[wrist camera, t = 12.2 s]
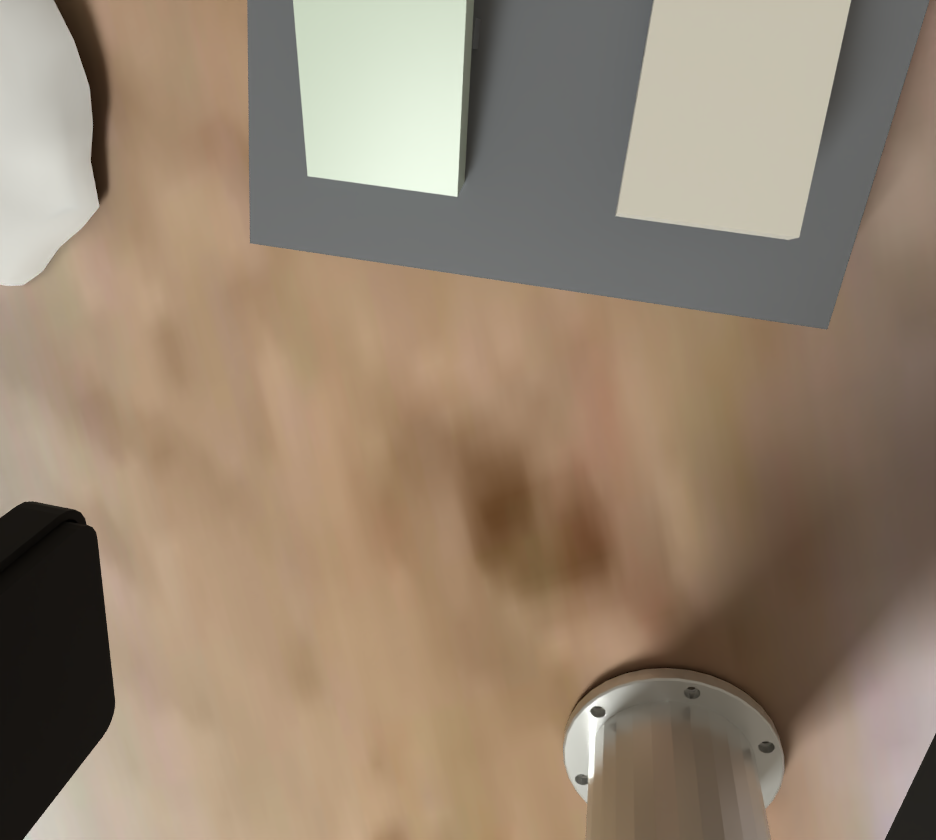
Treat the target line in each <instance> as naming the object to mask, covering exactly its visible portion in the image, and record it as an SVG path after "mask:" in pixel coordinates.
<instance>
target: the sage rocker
mask: <svg viewBox="0 0 936 840" xmlns="http://www.w3.org/2000/svg"><path fill="white" fill-rule="evenodd" d="M293 7H294V19H295V31H296V43H297V55H298V67H299V79H300V91H301V103H302V115H303V127H304V139H305V151H306V163H307V175H308V176H310V177H318V178H325V179H332V180H339V181H346V182H354V183H361V184H368V185H375V186H383V187H390V188H397V189H404V190H412V191H419V192H426V193H433V194H441V195H448V196H455V197H457V196H458V194H459V192H460V190H461V188H462V186H463V184H464V181H465V164H466V145H467V126H468V107H469V88H470V68H471V49H472V30H473V11H474V0H293Z"/></svg>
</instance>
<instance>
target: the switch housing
mask: <svg viewBox="0 0 936 840" xmlns="http://www.w3.org/2000/svg"><path fill="white" fill-rule="evenodd" d="M247 1H248V94H249V188H250V243H253V244H259V245H266V246H273V247H279V248H286V249H293V250H299V251H306V252H313V253H320V254H326V255H333V256H340V257H346V258H353V259H360V260H366V261H373V262H380V263H386V264H393V265H400V266H407V267H413V268H420V269H427V270H433V271H440V272H447V273H453V274H460V275H467V276H473V277H480V278H487V279H494V280H500V281H507V282H514V283H520V284H527V285H534V286H540V287H547V288H554V289H560V290H567V291H574V292H581V293H587V294H594V295H601V296H607V297H614V298H621V299H627V300H634V301H641V302H647V303H654V304H661V305H668V306H674V307H681V308H688V309H694V310H701V311H708V312H714V313H721V314H728V315H734V316H741V317H748V318H755V319H761V320H768V321H775V322H781V323H788V324H795V325H801V326H808V327H815V328H821V329H828V325H829V322H830V319H831V316H832V313H833V309H834V306H835V303H836V300H837V296H838V293H839V290H840V287H841V284H842V280H843V277H844V274H845V271H846V267H847V264H848V261H849V258H850V255H851V251H852V248H853V245H854V242H855V239H856V235H857V232H858V229H859V226H860V222H861V219H862V216H863V213H864V210H865V206H866V203H867V200H868V197H869V193H870V190H871V187H872V184H873V181H874V177H875V174H876V171H877V168H878V165H879V161H880V158H881V155H882V152H883V148H884V145H885V142H886V139H887V136H888V132H889V129H890V126H891V123H892V119H893V116H894V113H895V110H896V107H897V103H898V100H899V97H900V94H901V91H902V87H903V84H904V81H905V78H906V74H907V71H908V68H909V65H910V62H911V58H912V55H913V52H914V49H915V45H916V42H917V39H918V36H919V33H920V29H921V26H922V23H923V20H924V17H925V13H926V10H927V7H928V4H929V0H851V3H850V8H849V12H848V17H847V22H846V26H845V31H844V35H843V40H842V44H841V49H840V54H839V58H838V63H837V67H836V72H835V76H834V81H833V86H832V90H831V95H830V99H829V104H828V108H827V113H826V117H825V122H824V127H823V131H822V136H821V140H820V145H819V149H818V154H817V159H816V163H815V168H814V172H813V177H812V181H811V186H810V191H809V195H808V200H807V204H806V209H805V213H804V218H803V223H802V227H801V232H800V236H799V238H795V239H791V240H785V239H778V238H771V237H763V236H756V235H749V234H742V233H734V232H727V231H720V230H713V229H705V228H698V227H691V226H684V225H676V224H669V223H662V222H655V221H647V220H640V219H633V218H625V217H618V216H615V215H616V210H617V204H618V198H619V192H620V187H621V181H622V175H623V170H624V164H625V158H626V153H627V147H628V141H629V135H630V130H631V124H632V118H633V113H634V107H635V101H636V95H637V90H638V84H639V78H640V73H641V67H642V61H643V56H644V50H645V44H646V38H647V33H648V27H649V21H650V16H651V10H652V4H653V0H474V11H473V30H472V49H471V68H470V88H469V107H468V126H467V145H466V164H465V181H464V184H463V186H462V188H461V190H460V192H459V194H458V196H457V197H455V196H448V195H441V194H433V193H426V192H419V191H412V190H404V189H397V188H390V187H383V186H375V185H368V184H361V183H354V182H346V181H339V180H332V179H325V178H318V177H310V176H308V175H307V163H306V151H305V139H304V127H303V115H302V103H301V91H300V79H299V67H298V55H297V43H296V31H295V19H294V7H293V0H247Z"/></svg>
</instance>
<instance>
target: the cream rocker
mask: <svg viewBox="0 0 936 840" xmlns="http://www.w3.org/2000/svg"><path fill="white" fill-rule="evenodd" d="M850 3H851V0H653V4H652V10H651V16H650V21H649V27H648V33H647V38H646V44H645V50H644V56H643V61H642V67H641V73H640V78H639V84H638V90H637V95H636V101H635V107H634V113H633V118H632V124H631V130H630V135H629V141H628V147H627V153H626V158H625V164H624V170H623V175H622V181H621V187H620V192H619V198H618V204H617V210H616V215H615V216H618V217H625V218H633V219H640V220H647V221H655V222H662V223H669V224H676V225H684V226H691V227H698V228H705V229H713V230H720V231H727V232H734V233H742V234H749V235H756V236H763V237H771V238H778V239H785V240H791V239H795V238H799V236H800V232H801V227H802V223H803V218H804V213H805V209H806V204H807V200H808V195H809V191H810V186H811V181H812V177H813V172H814V168H815V163H816V159H817V154H818V149H819V145H820V140H821V136H822V131H823V127H824V122H825V117H826V113H827V108H828V104H829V99H830V95H831V90H832V86H833V81H834V76H835V72H836V67H837V63H838V58H839V54H840V49H841V44H842V40H843V35H844V31H845V26H846V22H847V17H848V12H849V8H850Z"/></svg>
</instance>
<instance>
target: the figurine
mask: <svg viewBox="0 0 936 840" xmlns="http://www.w3.org/2000/svg"><path fill="white" fill-rule="evenodd" d="M92 133H93V118H92V107H91V97H90V87H89V84H88V81H87V78H86V75H85V72H84V69H83V66H82V63H81V60H80V57H79V54H78V51H77V48H76V45H75V42H74V39H73V37H72V35H71V33H70V31H69V29H68V27H67V25H66V24H65V22H64V20H63V18H62V16H61V14H60V12H59V10H58V8H57V6H56V4H55V2H54V0H0V284H1V285H6V286H17V285H24V284H26V283H27V282H28V281H30V280H31V279H33V278H34V277H36V276H37V275H38V274H40V273H41V272H42V271H43V270H44V269H45V267H46V266H47V264H48V263H49V262H50V260H51V259H52V257H53V256H54V254H55V253H56V252H57V250H58V249H59V247H60V246H62V245H63V244H64V243H65V242H66V241H67V240H69V239H70V238H71V237H72V236H73V235H74V234H76V233H77V232H78V231H79V230H80V229H82V227H83V226H84V225H85V224H86V223H87V221H88V220H89V219H90V218H91V217H92V215H93V214H94V213H95V212H96V210H97V209H98V208H99V202H98V196H97V191H96V186H95V181H94V175H93V170H92V165H91V148H92Z"/></svg>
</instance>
